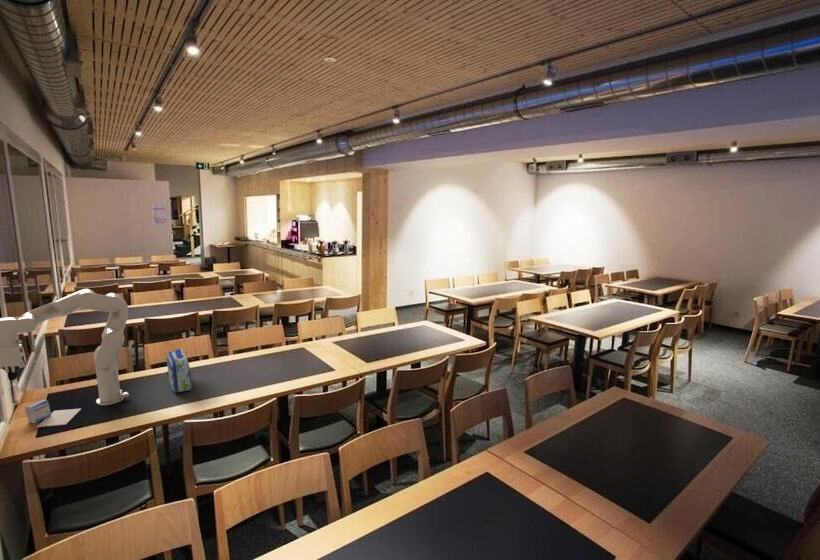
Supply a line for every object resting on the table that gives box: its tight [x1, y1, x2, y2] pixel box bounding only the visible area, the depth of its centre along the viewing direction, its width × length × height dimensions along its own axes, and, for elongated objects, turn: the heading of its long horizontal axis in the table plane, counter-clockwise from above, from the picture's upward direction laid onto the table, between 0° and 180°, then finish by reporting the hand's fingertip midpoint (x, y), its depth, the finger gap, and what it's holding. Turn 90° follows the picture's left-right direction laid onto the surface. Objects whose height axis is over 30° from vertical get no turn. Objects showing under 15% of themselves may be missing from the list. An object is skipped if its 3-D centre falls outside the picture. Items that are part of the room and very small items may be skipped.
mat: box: [36, 408, 82, 428], centre depth 217 cm, size 12×16×1 cm
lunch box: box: [166, 348, 193, 394], centre depth 253 cm, size 26×11×21 cm, turn 35°
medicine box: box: [24, 399, 52, 424], centre depth 214 cm, size 8×4×9 cm, turn 168°
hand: (13, 379), depth 209 cm, fingers closed
